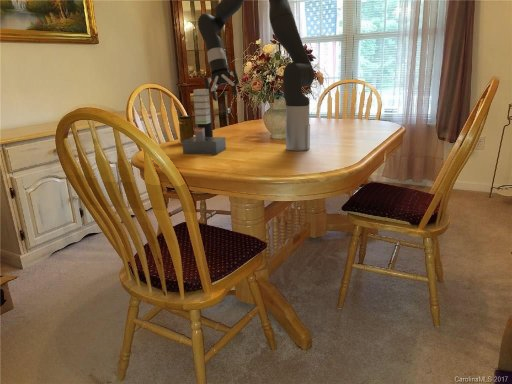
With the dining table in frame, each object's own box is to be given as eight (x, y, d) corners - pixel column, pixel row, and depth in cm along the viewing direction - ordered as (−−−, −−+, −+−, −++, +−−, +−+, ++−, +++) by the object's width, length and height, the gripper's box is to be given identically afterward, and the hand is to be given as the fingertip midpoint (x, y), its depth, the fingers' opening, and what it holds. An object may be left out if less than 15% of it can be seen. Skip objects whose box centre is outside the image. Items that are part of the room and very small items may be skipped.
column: (211, 122, 164) (209, 88, 161) (206, 124, 160) (204, 89, 156) (199, 122, 166) (197, 89, 162) (195, 123, 161) (192, 89, 157)
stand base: (225, 149, 169) (224, 124, 166) (216, 154, 159) (215, 128, 156) (194, 148, 173) (192, 124, 170) (183, 153, 163) (181, 128, 160)
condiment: (179, 142, 190) (176, 115, 186) (197, 140, 192) (195, 114, 188) (180, 144, 183) (178, 117, 179) (199, 143, 185) (197, 116, 182)
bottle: (196, 141, 189) (193, 97, 184) (201, 139, 196) (198, 95, 190) (210, 141, 188) (207, 96, 182) (215, 139, 194) (212, 95, 188)
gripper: (235, 59, 177) (243, 96, 177) (204, 68, 180) (212, 104, 179) (231, 53, 170) (239, 91, 169) (199, 63, 172) (207, 100, 172)
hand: (225, 98), depth 174 cm, fingers open, 8 cm apart
